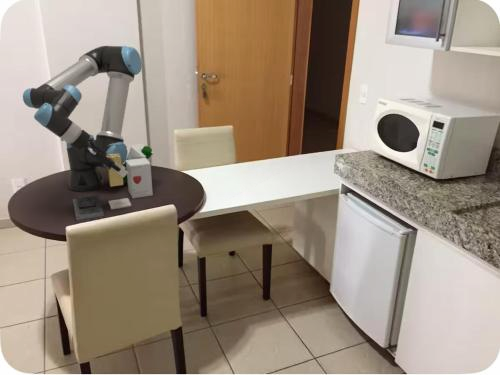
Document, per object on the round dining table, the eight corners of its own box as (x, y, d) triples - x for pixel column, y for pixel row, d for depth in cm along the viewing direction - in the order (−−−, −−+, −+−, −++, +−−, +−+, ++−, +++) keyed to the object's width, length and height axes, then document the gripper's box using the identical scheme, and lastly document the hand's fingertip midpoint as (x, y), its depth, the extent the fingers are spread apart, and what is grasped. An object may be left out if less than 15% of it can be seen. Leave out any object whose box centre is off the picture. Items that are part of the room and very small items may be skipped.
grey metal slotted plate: (73, 203, 177) (72, 198, 176) (98, 199, 181) (97, 195, 180) (76, 220, 161) (75, 215, 161) (103, 216, 165) (103, 211, 165)
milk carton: (130, 187, 195) (146, 154, 185) (115, 175, 196) (130, 142, 186) (141, 181, 203) (157, 149, 193) (127, 170, 204) (142, 137, 194)
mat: (108, 202, 178) (108, 200, 178) (128, 199, 181) (127, 198, 181) (111, 209, 171) (111, 208, 171) (131, 206, 174) (131, 204, 174)
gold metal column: (108, 182, 173) (105, 154, 169) (121, 180, 175) (118, 152, 171) (110, 186, 169) (107, 157, 165) (123, 184, 171) (120, 156, 167)
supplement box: (132, 199, 182) (129, 165, 176) (128, 191, 189) (124, 159, 184) (153, 195, 185) (150, 162, 180) (148, 188, 193) (145, 157, 187)
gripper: (67, 138, 167) (115, 172, 180) (70, 150, 152) (122, 186, 164) (80, 124, 167) (126, 159, 180) (84, 134, 152) (134, 172, 164)
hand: (124, 172), depth 172 cm, fingers closed on gold metal column, 5 cm apart
